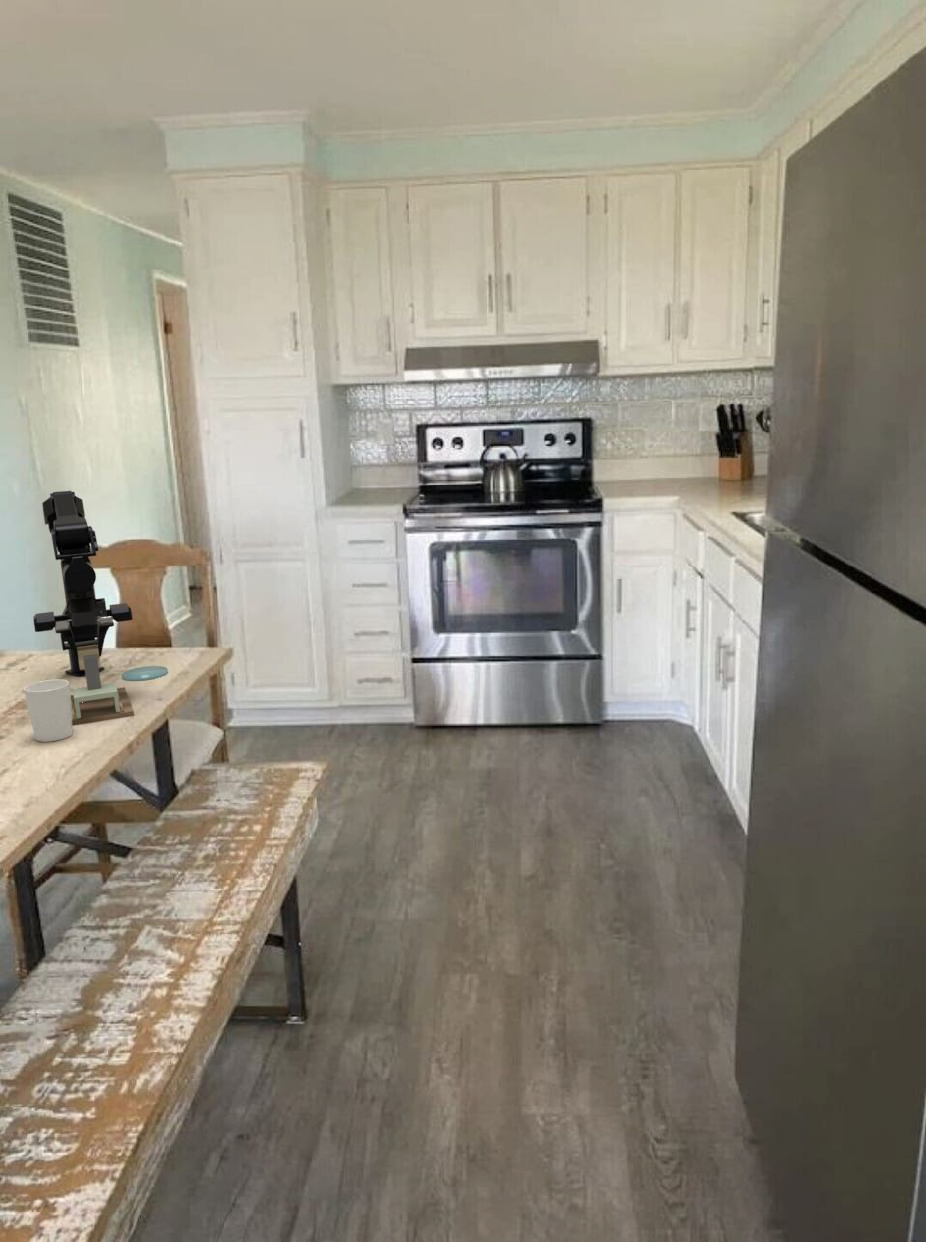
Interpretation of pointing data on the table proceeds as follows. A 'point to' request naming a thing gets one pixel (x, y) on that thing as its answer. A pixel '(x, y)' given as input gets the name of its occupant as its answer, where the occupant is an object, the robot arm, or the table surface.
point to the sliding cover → (94, 686)
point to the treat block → (87, 651)
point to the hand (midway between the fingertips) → (88, 657)
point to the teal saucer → (144, 673)
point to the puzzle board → (102, 709)
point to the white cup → (50, 709)
